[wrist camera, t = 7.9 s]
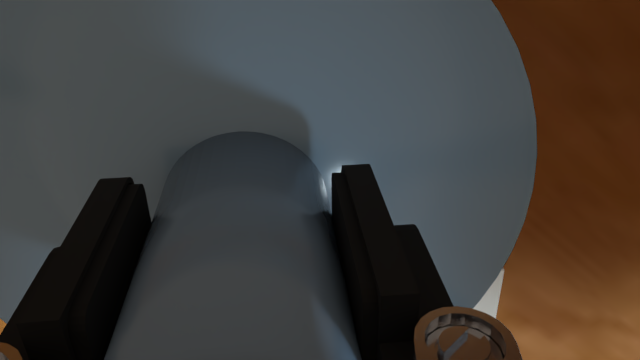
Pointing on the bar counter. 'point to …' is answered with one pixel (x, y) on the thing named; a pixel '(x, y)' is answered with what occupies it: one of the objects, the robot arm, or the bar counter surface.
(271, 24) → the lid
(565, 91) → the bar counter surface
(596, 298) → the bar counter surface
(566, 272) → the bar counter surface
